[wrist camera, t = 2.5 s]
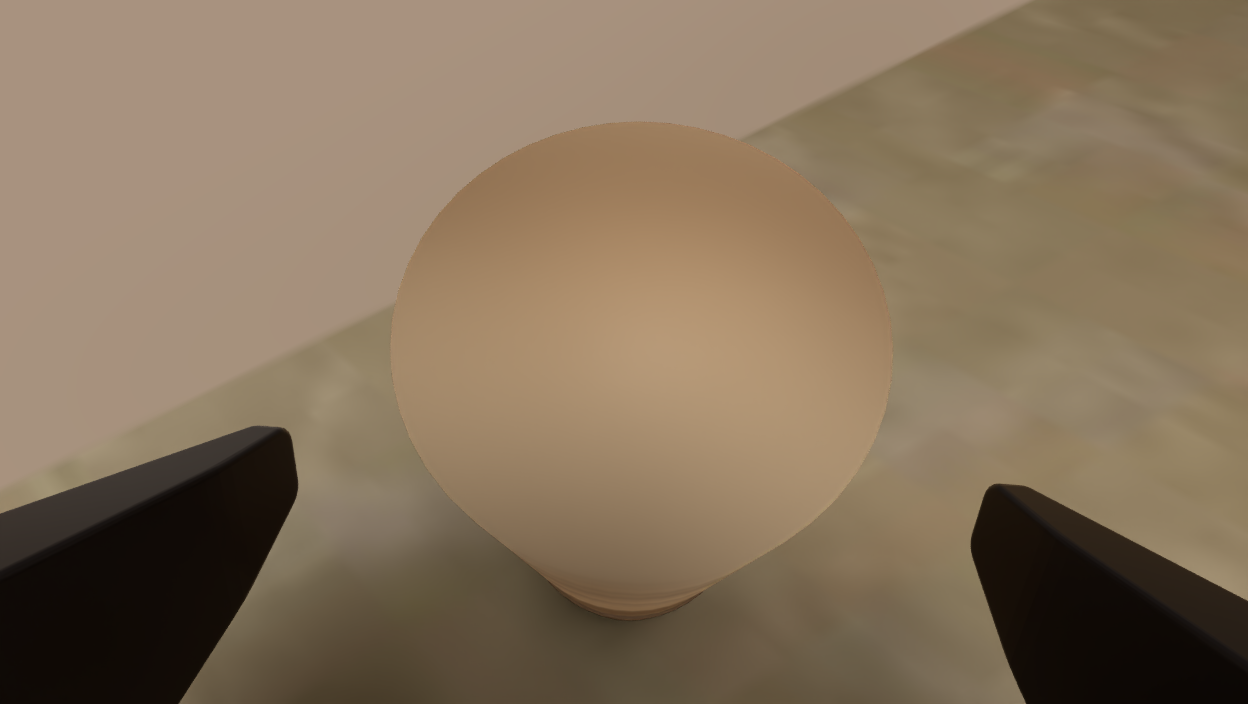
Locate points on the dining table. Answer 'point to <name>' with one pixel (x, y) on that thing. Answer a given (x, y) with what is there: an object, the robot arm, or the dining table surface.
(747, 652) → the dining table surface
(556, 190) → the peg
